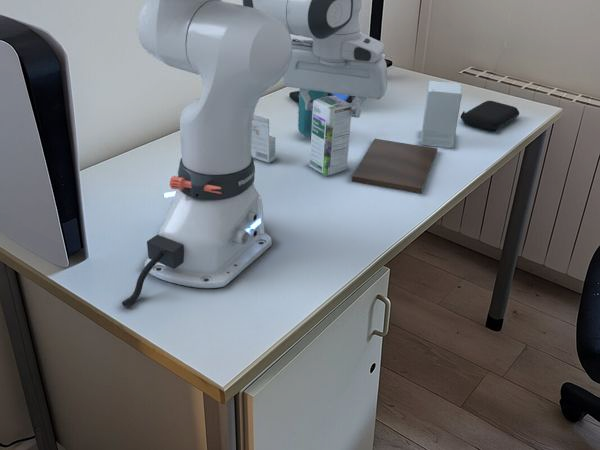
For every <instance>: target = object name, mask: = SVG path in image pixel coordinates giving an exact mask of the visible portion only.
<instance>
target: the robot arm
mask: <svg viewBox="0 0 600 450" xmlns="http://www.w3.org/2000/svg"><path fill="white" fill-rule="evenodd" d="M363 2H364V0H242V4H237V3H233V2H227V1H224V0H147V1H146V2H145V3H144V4H143V6H142V7H141V9H140V12H139V15H138V19H137V27H136V29H137V36H138V40H139V43H140V45H141V47H142V48H143V50H144V51H145V52H146V53H147V54H148V55H150V56H152V57H153V58H155V59H157V60H158V61H159V62H162V63H163V64H165V65H167V66H168V67H171V68H174V69H178V70H181V71H184V72H188V73H191V74H195V75H198V76H200V79H201V81H202V89H201V93H200V97H199V98H196V99H194V100H192V101H191V102H190V103H188V105H186V107H185V108H184V109H183V110H182V111H181V114H180V116H179V134H180V135H179V137H180V151H181V158H180V160H179V166H178V168H177V175H172V176H171V177H170V181H169V186H170V189H173V190H175V191H170V192H164V195H163V196H164V198H170V197H172V200H171V202H170V204H169V207H168V209H167V210H166V214H165V216H164V219H163V221H162V223H161V226H160V228H159V233H158V234H156V235H154V236H153V237H151V238H149V239H148V240H146V247H147V259H146V260H145V262H144V267H143V269H142V271H141V272H140V273H139V275H138V277H137V279H136V283H135V288H134V291H133V292H132V294H131V295H130V296H129V297H127V298H126V299H124V300H123V301H122V302H121V304H122V306H123V307H124V308H127V307H129V306H130V305H132V304H134V303H135V302H136V301H137V300H138V298H139V297H140V295H141V293H142V290H143V286H144V283H145V282H144V281H145V280H146V278H147V276H148V275H149V274H150V275H151V276H153V277H154V278H157V279H160V280H161V281H165V282H168V283H171V284H175V285H180V286H183V287H184V286H185V287H191V288H197V289H198V288H199V289H216V288H217V289H218V288H223V287H226V286H227V285H228V284H230V282H231V281H233V280H235V278H236V277H237V276H238V275H239V274H241V273H242V272H244V270H246V269H247V268H248V267H249V266H250V265H251V264H252V263H254V261H256V260H257V259H258V258H259V257H260V256H262V255H263V253H265V252H266V251H267V250H268V249H270V248H271V246H272V245H273V241H272V237H271V236H270V235H269V234H268V233H267V232H266V231H265V220H264V219H265V218H264V205H263V198H262V197H261V195H260V194H259V192H258V190H257V189H256V187H255V184H254V182H255V174H256V165H255V158H253V157H252V156H251V144H252V123H253V122H254V121H253V115H255V111H256V107H257V105H258V104H259V100H260V99H261V97H262V96H263V94H264V93H265V92H266V91H267V90H268V89H270V88H271V87H273V86H275V85H276V84H278V83H279V81H281V80H282V83H283V85H284V86H285V87H286V88H291V89H292V88H294V89H298V90H299V91H300V95H301V96H302V98H303V100H304V102H305V110H308V111H313V101H314V100H311V98H310V96H309V94H308V92H309V91H310V90H314V91H321V92H328V93H335V94H343V95H350V96H355V97H357V102H359V104H358V105H353V106H352V111H351V118H358V119H360V117H361V115H362V107H363V106H364V105H365V103H366V102H367V101H368V99H373V100H381V99H382V98H383V97H384V96H385V95H386V93H387V90H388V66H387V61H386V59H385V57H384V58H383V57H382V54H384V51H385V44H384V42H382V41H381V40H378V39H376V38H374V37H371V36H369V35H367V34H365V33H363V32H362V25H361V20H360V19H361V18H360V17H361V16H360V14H361V10H362V8H363V4H364V3H363ZM291 35H293V36H297V37H303V38H308V39H298V38H292V37H291ZM309 39H310V40H309Z"/></svg>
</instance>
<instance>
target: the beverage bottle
mask: <svg viewBox="0 0 600 450" xmlns="http://www.w3.org/2000/svg"><path fill="white" fill-rule="evenodd" d="M298 91H299V99H298V103H299V104H298V103H297V104H298V117H297V120H298V121H297V129H298V132H299V133H300V134H301V135H304V136H308V137H311V133H312V114H313V111H308V110H305V102H304V100H303V98H302V96H301V95H300V90H298ZM308 94H309V96H310V98H311V100H316V99H319V98H322V97H327V95H328V92H321V91H314V90H310V91H309V92H308Z"/></svg>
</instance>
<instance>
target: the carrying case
mask: <svg viewBox="0 0 600 450" xmlns="http://www.w3.org/2000/svg"><path fill="white" fill-rule="evenodd" d="M519 115H520V111H519V109H518V108H517V107H515V106H513V105H509V104H506V103H502V102H498V101H495V100H486V101H484V102H481V103H480V104H478V105H476V106H475V107H473V108H471V109H470V110H468V111H466V112H465V111H464V110H463V111H462V112H461V114H460V119H461V121H462V122H463V124H464V125H465V126H468V127H471V128H476V129H479V130H482V131H484V132H489V133H495V132H497V131H499V130H500V129H502V128H504V127H505V126H506V125H508V124H510V123H511V122H513V121H514V120H515V119H517V118H518V117H519Z"/></svg>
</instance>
